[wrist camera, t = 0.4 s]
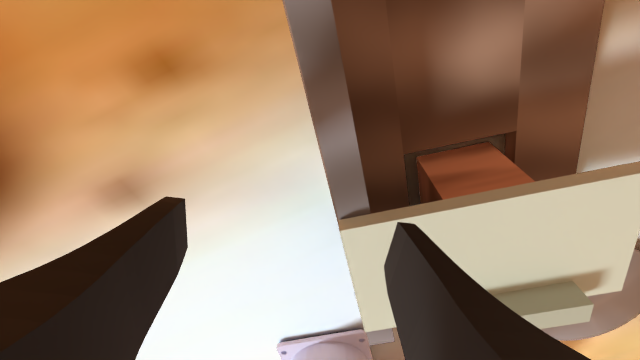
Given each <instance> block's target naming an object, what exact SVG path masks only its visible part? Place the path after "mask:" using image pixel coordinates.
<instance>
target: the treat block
mask: <svg viewBox="0 0 640 360" xmlns="http://www.w3.org/2000/svg"><path fill="white" fill-rule="evenodd" d="M416 160H417V170H418V181H419V191H420V202H421V204H424V203H429V202H434V201H439V200H444V199H449V198H454V197H459V196H464V195H470V194H475V193H480V192H485V191H490V190H495V189H500V188H505V187H511V186H516V185H521V184H526V183H531V182H535V181H534V180H533V179H532V178H530V177H529V176H528V175H527V174H526V173H525V172H523V171H522V170H521V169H520V168H519V167H518V166H516V165H515V164H514V163H513V162H512V161H511V160H509V159H508V158H507V157H506V156H505V155H504V154H502V153H501V152H500V151H499V150H498V149H497V148H495V147H494V146H493V145H492V144H491V143H489V142H485V143H480V144H475V145H471V146H466V147H461V148H456V149H451V150H447V151H442V152H437V153H432V154H427V155H423V156H418V157H416Z"/></svg>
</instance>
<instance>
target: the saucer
mask: <svg viewBox="0 0 640 360" xmlns="http://www.w3.org/2000/svg"><path fill="white" fill-rule="evenodd" d="M587 297H588V298H589V299H590V301H591V302H592V303H593V304H594V306H593V310H592V314H591V318H590V321H589V322H583V323H577V324H570V325H564V326H557V327H551V328H545V329H541V330H542V331H544V332H545V333H547V334H548V335H550V336H552V337H553V338H555V339H556V340H566V341H567V340H580V339H586V338H591V337H595V336H598V335H601V334H604V333H607V332H609V331H612V330H614V329H616V328H618V327H620V326H622V325H624V324H626V323H627V322H629V321H630V320H632V319H633V318H635V317H636V316H637V315H639V314H640V251H639V250H637V249H635V248H634V251H633V254H632V258H631V261H630V264H629V268H628V271H627V274H626V278H625V281H624V284H623V288H622V291H616V292H610V293H604V294H598V295H592V296H587Z"/></svg>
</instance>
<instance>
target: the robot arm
mask: <svg viewBox="0 0 640 360" xmlns="http://www.w3.org/2000/svg"><path fill="white" fill-rule="evenodd" d="M187 248H188V245H187V227H186V210H185V199H183V198H174V197H164V198H163V199H161V200H159V201H158V202H156V203H154V204H153V205H151V206H150V207H148V208H146V209H145V210H143V211H142V212H140V213H139V214H137V215H135V216H134V217H132V218H130V219H129V220H127V221H126V222H124V223H122V224H121V225H119V226H117V227H116V228H114V229H112V230H111V231H109V232H107V233H105V234H103V235H102V236H100V237H98V238H96V239H94V240H93V241H91V242H89V243H87V244H85V245H84V246H82V247H80V248H78V249H76V250H74V251H72V252H70V253H68V254H66V255H64V256H62V257H60V258H57V259H55V260H53V261H51V262H49V263H47V264H44V265H42V266H40V267H38V268H35V269H33V270H30V271H28V272H25V273H23V274H20V275H18V276H15V277H13V278H10V279H8V280H5V281H3V282H0V360H135V359H136V356H137V354H138V351H139V349H140V347H141V345H142V343H143V341H144V338H145V336H146V334H147V332H148V330H149V329H150V327H151V325H152V323H153V321H154V319H155V317H156V315H157V313H158V311H159V310H160V308H161V306H162V304H163V302H164V300H165V298H166V296H167V294H168V292H169V290H170V289H171V287H172V285H173V283H174V281H175V279H176V277H177V275H178V272H179V270H180V267H181V265H182V262H183V259H184V256H185V253H186V250H187ZM384 272H385V281H386V287H387V294H388V297H389V301H390V305H391V309H392V312H393V316H394V320H395V323H396V327H397V331H398V334H399V338H400V341H401V345H402V349H403V352H404V356H405V360H591V359H589V358H587V357H585V356H584V355H582V354H580V353H578V352H577V351H575V350H573V349H572V348H570V347H568V346H566V345H565V344H563V343H561V342H560V341H558V340H556V339H555V338H553V337H552V336H550V335H548V334H547V333H545V332H544V331H542V330H541V329H539V328H538V327H536V326H535V325H533V324H532V323H530V322H528V321H527V320H525V319H524V318H523V317H521V316H520V315H518V314H517V313H515V312H514V311H513V310H511V309H510V308H509V307H507V306H506V305H505V304H503V303H502V302H501V301H499V300H498V299H497V298H495V297H494V296H493V295H491V294H490V293H489V292H488V291H487V290H485V289H484V288H483V287H482V286H480V285H479V284H478V283H477V282H476V281H475V280H474V279H472V278H471V277H470V276H469V275H468V274H467V273H466V272H464V271H463V270H462V269H461V268H460V267H459V266H458V265H457V264H456V263H455V262H454V261H453V260H452V259H451V258H449V257H448V256H447V255H446V254H445V253H444V252H443V251H442V250H441V249H440V248H439V247H438V246H437V245H436V244H435V243H434V242H433V241H432V240H431V239H430V238H429V237H428V236H427V235H426V234H425V233H424V232H423V231H422V230H421V229H420V228H419V227H418V226H417V225H416V224H412V223H403V222H397V225H396V229H395V232H394V235H393V238H392V241H391V245H390V248H389V251H388V254H387V257H386V261H385V264H384ZM277 351H278V353H279V355H280V358H281V360H373V358H372V354H371V350H370V346H369V342H368V338H367V334H366V332H365V331H364V330H362V329H359V330H353V331H347V332H341V333H334V334H328V335H322V336H316V337H310V338H304V339H298V340H292V341H286V342H280V343H278V344H277Z"/></svg>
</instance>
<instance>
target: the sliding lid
mask: <svg viewBox="0 0 640 360" xmlns="http://www.w3.org/2000/svg"><path fill="white" fill-rule="evenodd" d="M338 222H339V231H340V235H341V239H342V243H343V247H344V251H345V255H346V259H347V263H348V267H349V271H350V275H351V279H352V283H353V287H354V291H355V295H356V299H357V303H358V307H359V311H360V315H361V319H362V323H363V327H364V331H365V332H370V331H377V330H383V329H389V328H395V327H396V323H395V320H394V316H393V312H392V309H391V305H390V301H389V297H388V294H387V287H386V281H385V272H384V264H385V261H386V257H387V254H388V251H389V248H390V245H391V241H392V238H393V235H394V232H395V229H396V225H397V222H403V223H412V224H416V225H417V226H418V227H419V228H420V229H421V230H422V231H423V232H424V233H425V234H426V235H427V236H428V237H429V238H430V239H431V240H432V241H433V242H434V243H435V244H436V245H437V246H438V247H439V248H440V249H441V250H442V251H443V252H444V253H445V254H446V255H447V256H448V257H449V258H451V259H452V260H453V261H454V262H455V263H456V264H457V265H458V266H459V267H460V268H461V269H462V270H463V271H464V272H466V273H467V274H468V275H469V276H470V277H471V278H472V279H474V280H475V281H476V282H477V283H478V284H479V285H480V286H482V287H483V288H484V289H485V290H487V291H488V292H489V293H490V294H491V295H493V296H494V297H495V298H497V299H498V300H499V301H501V302H502V303H503V304H505V305H506V306H507V307H509V308H510V309H511V310H513V311H514V312H515V313H517V314H518V315H520V316H521V317H523V318H524V319H525V320H527V321H528V322H530V323H532V324H533V325H535V326H536V327H538V328H539V329H545V328H551V327H557V326H564V325H570V324H577V323H583V322H589V321H590V318H591V314H592V310H593V306H594V304H593V303H592V302H591V301H590V299H589V298H588V297H587V296H592V295H598V294H604V293H610V292H616V291H622V288H623V284H624V281H625V278H626V274H627V271H628V268H629V264H630V261H631V258H632V254H633V251H634V248H635V245H636V241H637V238H638V235H639V231H640V161H639V162H634V163H628V164H623V165H618V166H613V167H608V168H603V169H598V170H593V171H587V172H582V173H577V174H572V175H567V176H562V177H557V178H552V179H546V180H541V181H536V182H531V183H526V184H521V185H516V186H511V187H505V188H500V189H495V190H490V191H485V192H480V193H475V194H470V195H464V196H459V197H454V198H449V199H444V200H439V201H434V202H429V203H424V204H418V205H413V206H408V207H403V208H398V209H393V210H388V211H383V212H377V213H372V214H367V215H362V216H357V217H352V218H347V219H342V220H338Z"/></svg>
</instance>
